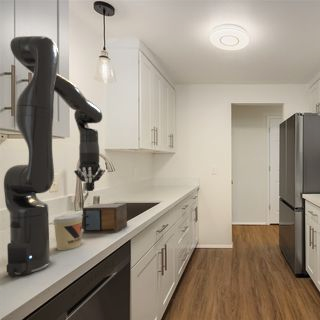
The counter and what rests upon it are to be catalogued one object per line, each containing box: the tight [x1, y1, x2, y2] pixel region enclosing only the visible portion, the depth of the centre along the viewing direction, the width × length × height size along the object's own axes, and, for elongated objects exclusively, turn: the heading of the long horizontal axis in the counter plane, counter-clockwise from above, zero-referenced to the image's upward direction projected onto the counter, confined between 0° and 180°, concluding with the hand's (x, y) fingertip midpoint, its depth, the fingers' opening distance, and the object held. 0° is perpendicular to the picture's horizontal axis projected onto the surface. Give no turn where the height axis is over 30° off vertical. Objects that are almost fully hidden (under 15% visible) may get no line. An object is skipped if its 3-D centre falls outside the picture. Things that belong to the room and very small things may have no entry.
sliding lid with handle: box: [82, 210, 101, 230], centre depth 110 cm, size 5×7×9 cm
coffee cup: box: [53, 213, 83, 251], centre depth 94 cm, size 9×9×12 cm
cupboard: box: [82, 202, 128, 234], centre depth 116 cm, size 10×16×12 cm, turn 89°
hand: (90, 190), depth 105 cm, fingers closed
